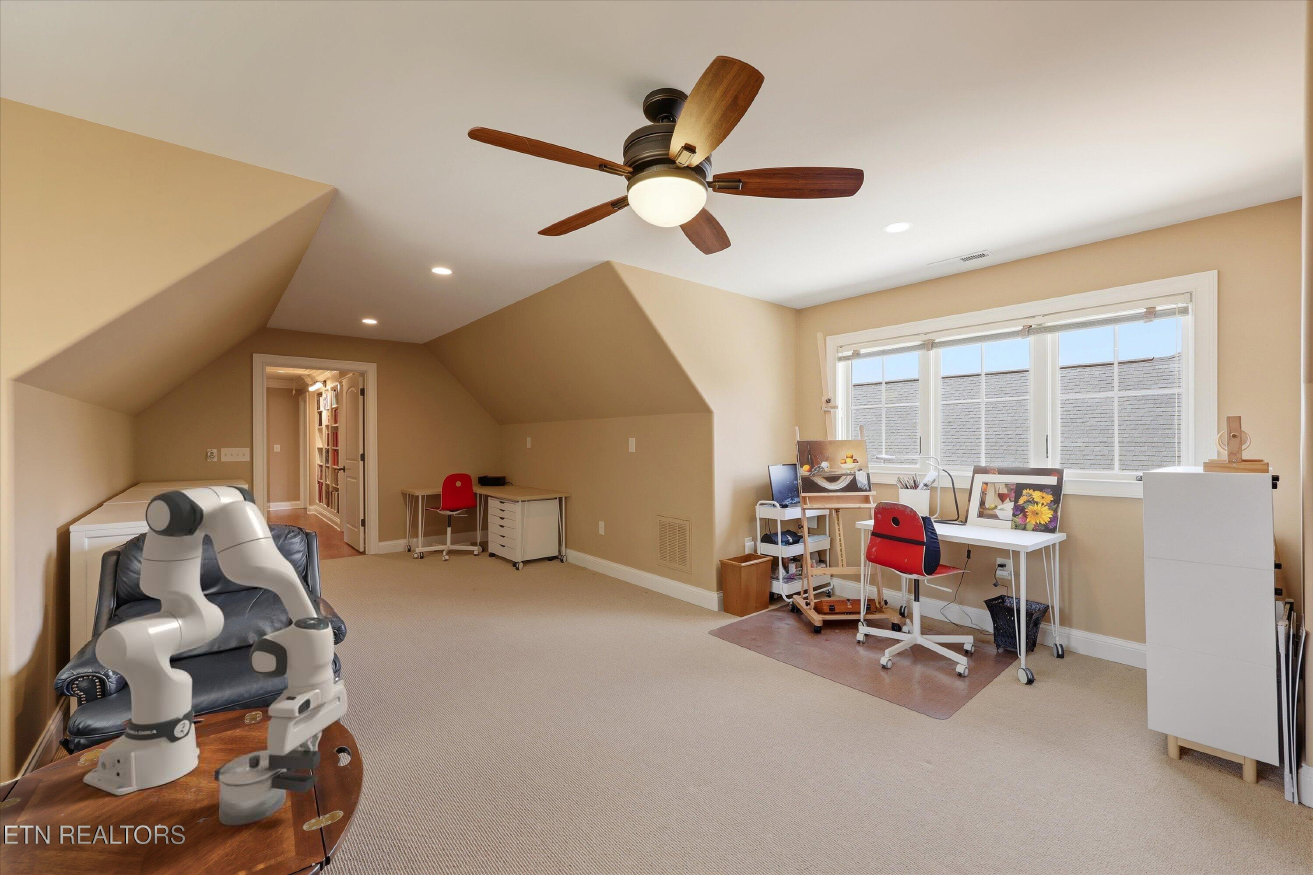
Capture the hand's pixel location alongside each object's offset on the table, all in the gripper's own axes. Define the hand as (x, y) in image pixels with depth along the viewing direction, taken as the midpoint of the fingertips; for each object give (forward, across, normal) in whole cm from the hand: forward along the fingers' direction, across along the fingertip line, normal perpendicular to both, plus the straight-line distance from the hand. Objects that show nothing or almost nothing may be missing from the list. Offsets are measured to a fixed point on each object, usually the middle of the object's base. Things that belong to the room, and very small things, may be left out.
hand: (310, 753), depth 128 cm
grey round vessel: (+11, -12, -15) cm, 21 cm away
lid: (+2, +3, -7) cm, 8 cm away
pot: (+11, +4, -8) cm, 14 cm away
